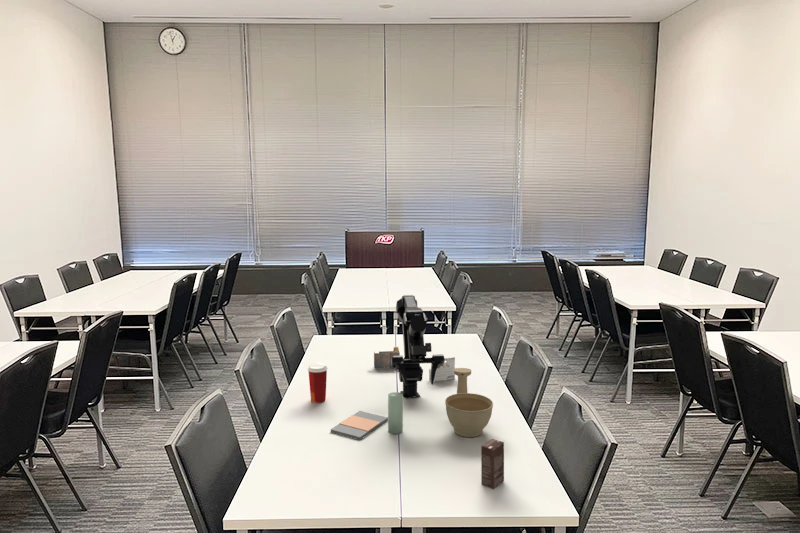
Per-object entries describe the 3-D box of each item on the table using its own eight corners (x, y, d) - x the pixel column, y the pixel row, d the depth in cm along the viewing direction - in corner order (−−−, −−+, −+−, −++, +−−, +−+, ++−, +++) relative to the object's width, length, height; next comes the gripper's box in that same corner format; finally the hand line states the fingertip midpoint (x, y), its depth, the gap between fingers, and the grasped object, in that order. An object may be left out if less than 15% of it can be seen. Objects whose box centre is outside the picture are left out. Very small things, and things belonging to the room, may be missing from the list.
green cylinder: (386, 428, 204) (386, 393, 202) (400, 427, 206) (400, 391, 203) (390, 434, 200) (390, 398, 197) (404, 433, 201) (404, 396, 199)
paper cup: (331, 397, 231) (330, 363, 229) (322, 405, 224) (322, 370, 222) (313, 395, 234) (312, 361, 232) (304, 402, 227) (303, 367, 224)
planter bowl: (488, 445, 192) (489, 413, 190) (440, 438, 197) (440, 407, 195) (495, 425, 207) (496, 395, 206) (450, 419, 212) (450, 390, 210)
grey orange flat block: (359, 413, 217) (359, 410, 217) (387, 420, 211) (387, 417, 211) (330, 432, 202) (330, 428, 201) (360, 440, 196) (360, 436, 196)
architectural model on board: (398, 366, 269) (398, 346, 268) (399, 368, 266) (399, 348, 265) (374, 367, 268) (373, 347, 266) (374, 369, 265) (374, 349, 263)
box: (490, 476, 173) (491, 437, 171) (504, 481, 170) (505, 442, 168) (479, 484, 168) (480, 445, 166) (493, 490, 166) (494, 450, 164)
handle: (470, 411, 219) (471, 372, 216) (453, 410, 220) (453, 371, 217) (470, 406, 224) (471, 368, 221) (453, 405, 224) (454, 367, 222)
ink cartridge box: (428, 380, 251) (429, 358, 250) (452, 377, 255) (453, 355, 253) (430, 382, 249) (431, 359, 247) (455, 379, 252) (455, 357, 251)
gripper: (391, 335, 205) (394, 378, 198) (444, 333, 207) (449, 376, 200) (389, 346, 215) (392, 388, 208) (440, 344, 217) (444, 386, 210)
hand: (419, 384), depth 206 cm, fingers open, 9 cm apart
